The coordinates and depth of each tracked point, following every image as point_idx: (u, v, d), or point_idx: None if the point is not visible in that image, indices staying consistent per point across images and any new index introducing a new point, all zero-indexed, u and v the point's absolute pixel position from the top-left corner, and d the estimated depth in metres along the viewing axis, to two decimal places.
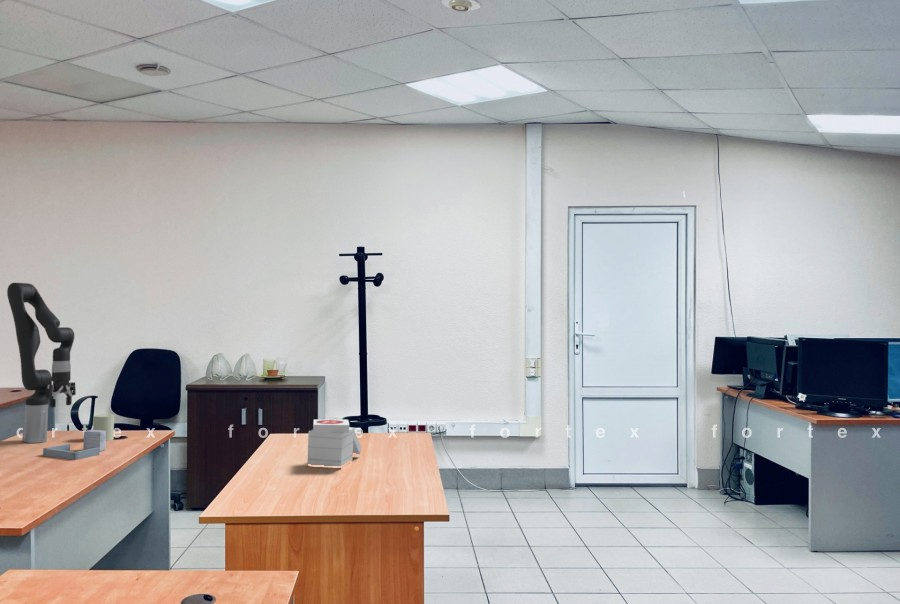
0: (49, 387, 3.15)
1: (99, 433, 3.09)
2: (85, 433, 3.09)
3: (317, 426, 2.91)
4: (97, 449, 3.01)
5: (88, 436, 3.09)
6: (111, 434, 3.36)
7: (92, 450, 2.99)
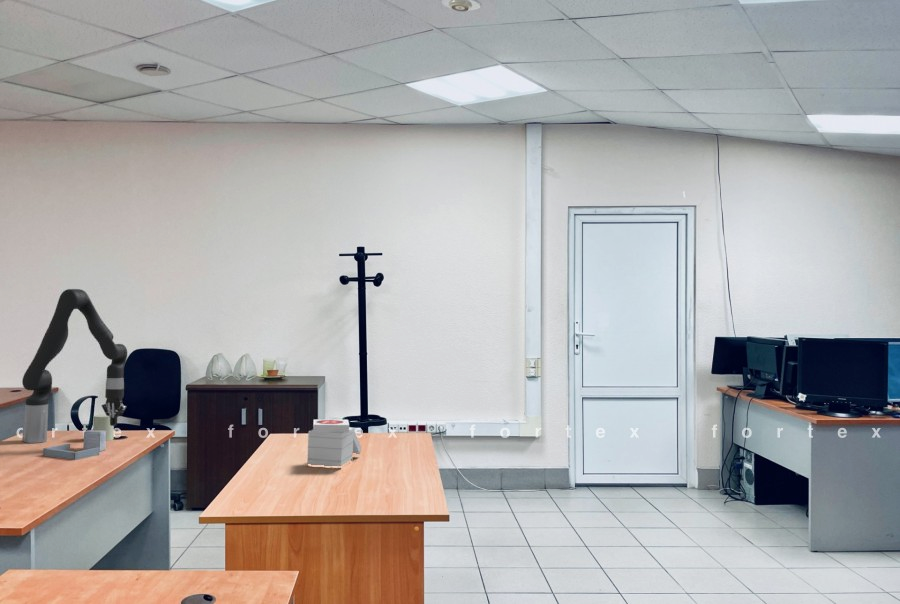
0: (124, 409, 3.19)
1: (99, 433, 3.09)
2: (85, 433, 3.09)
3: (317, 426, 2.91)
4: (97, 449, 3.01)
5: (88, 436, 3.09)
6: (111, 434, 3.36)
7: (92, 450, 2.99)
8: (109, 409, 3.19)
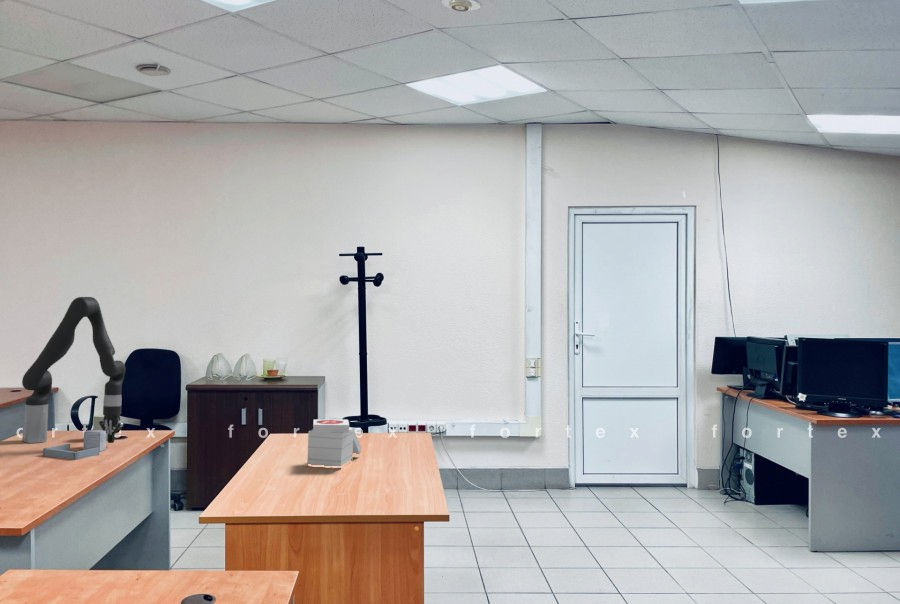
0: (122, 426, 3.18)
1: (99, 433, 3.09)
2: (85, 433, 3.09)
3: (317, 426, 2.91)
4: (97, 449, 3.01)
5: (88, 436, 3.09)
6: None
7: (92, 450, 2.99)
8: (107, 426, 3.18)
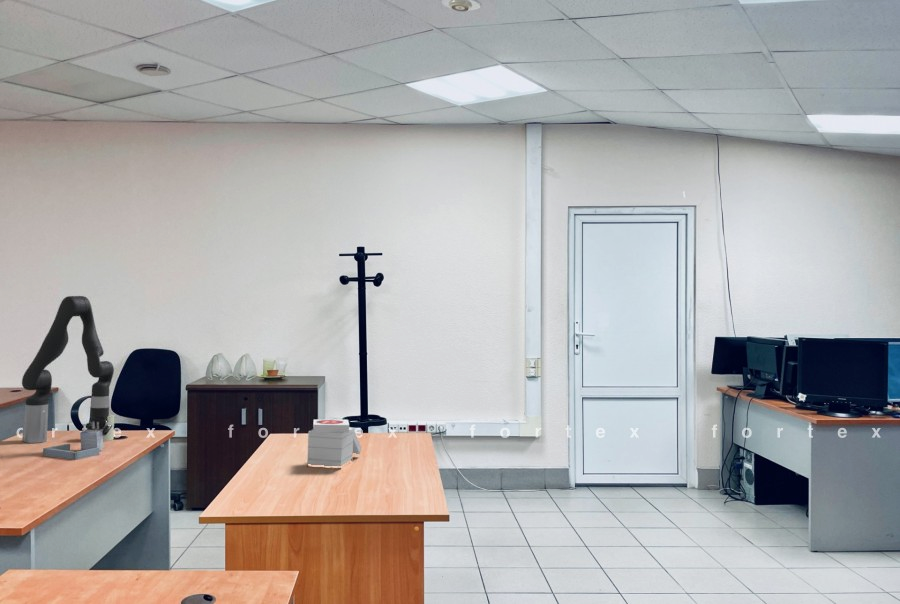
0: (110, 428, 3.12)
1: (95, 434, 3.06)
2: (81, 434, 3.07)
3: (317, 426, 2.91)
4: (97, 449, 3.01)
5: (85, 437, 3.07)
6: (111, 434, 3.36)
7: (92, 450, 2.99)
8: (94, 428, 3.11)
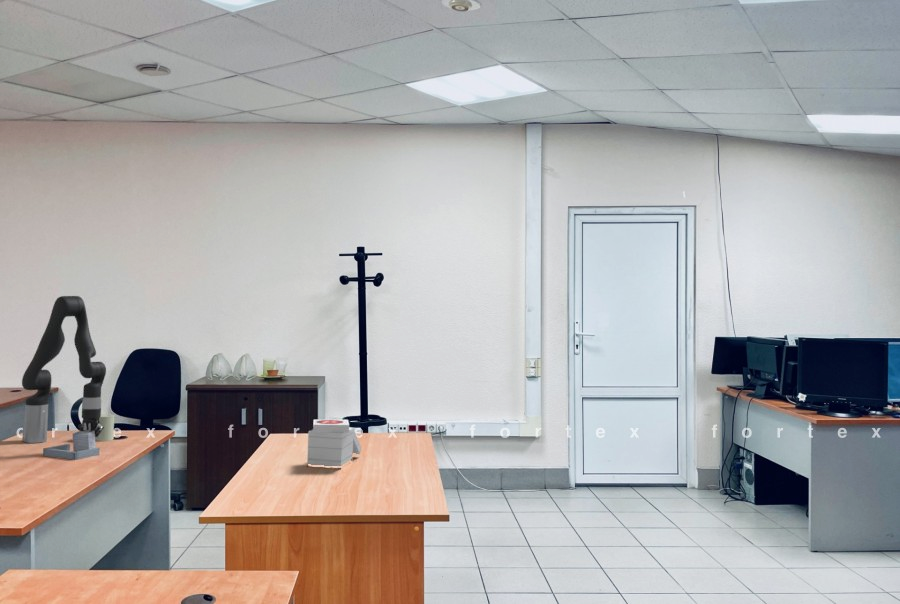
0: (101, 429, 3.07)
1: (87, 435, 3.02)
2: (74, 435, 3.03)
3: (317, 426, 2.91)
4: (97, 449, 3.01)
5: (77, 438, 3.03)
6: (111, 434, 3.36)
7: (92, 450, 2.99)
8: (86, 429, 3.07)
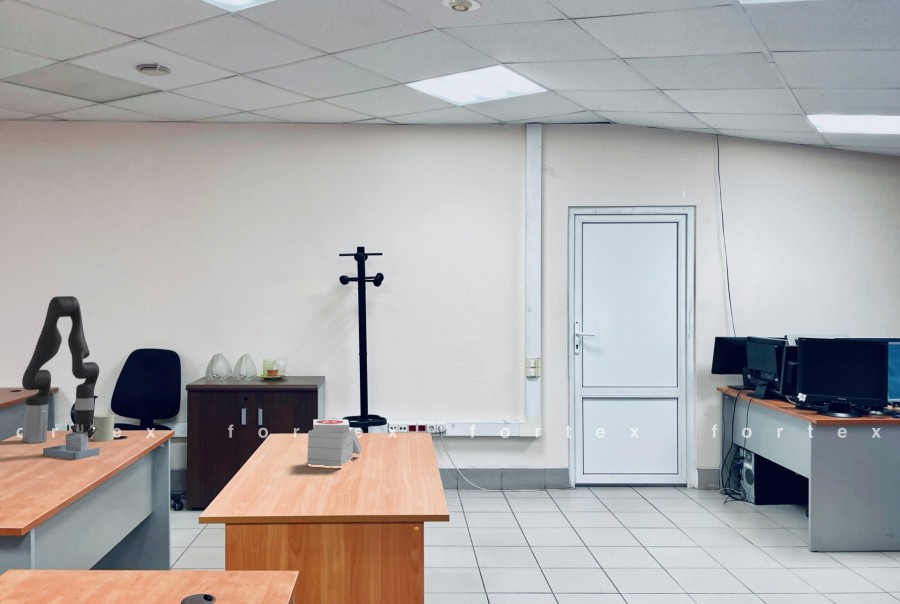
0: (94, 430, 3.04)
1: (79, 437, 2.98)
2: (67, 436, 3.00)
3: (317, 426, 2.91)
4: (97, 449, 3.01)
5: (70, 439, 2.99)
6: (111, 434, 3.36)
7: (92, 450, 2.99)
8: (78, 431, 3.04)
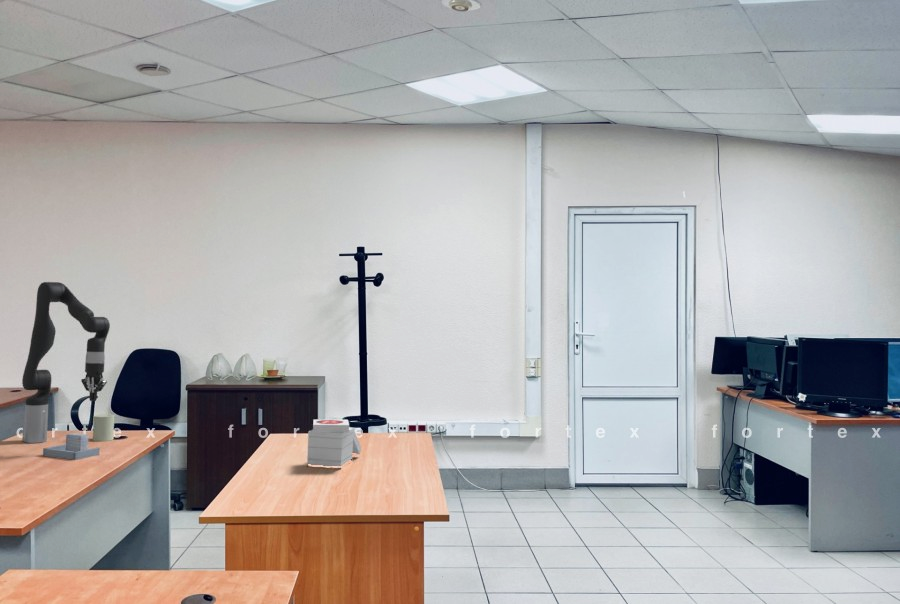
0: (104, 383, 3.09)
1: (80, 437, 2.98)
2: (67, 436, 3.00)
3: (317, 426, 2.91)
4: (97, 449, 3.01)
5: (70, 439, 3.00)
6: (111, 434, 3.36)
7: (92, 450, 2.99)
8: (89, 384, 3.09)
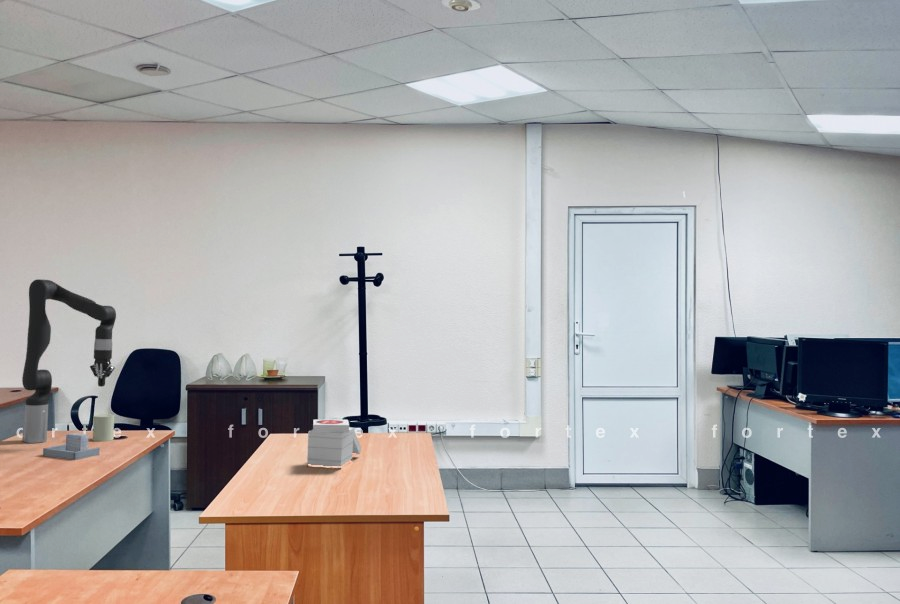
0: (112, 369, 3.22)
1: (80, 437, 2.98)
2: (67, 436, 3.00)
3: (317, 426, 2.91)
4: (97, 449, 3.01)
5: (70, 439, 3.00)
6: (111, 434, 3.36)
7: (92, 450, 2.99)
8: (97, 370, 3.22)
